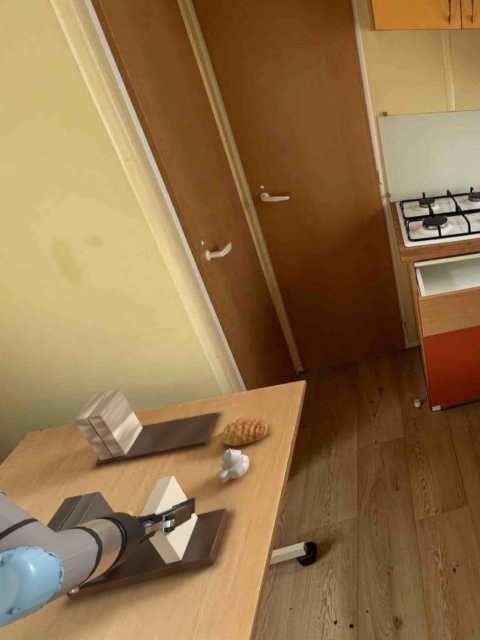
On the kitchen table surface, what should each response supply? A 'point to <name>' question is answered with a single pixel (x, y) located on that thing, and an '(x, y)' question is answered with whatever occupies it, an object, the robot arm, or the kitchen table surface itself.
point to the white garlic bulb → (233, 465)
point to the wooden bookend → (136, 430)
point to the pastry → (243, 431)
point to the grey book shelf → (141, 546)
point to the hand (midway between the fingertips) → (183, 507)
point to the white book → (162, 500)
